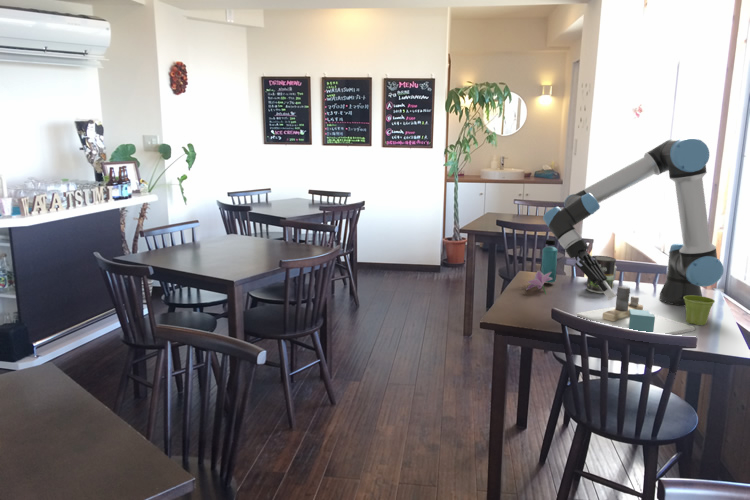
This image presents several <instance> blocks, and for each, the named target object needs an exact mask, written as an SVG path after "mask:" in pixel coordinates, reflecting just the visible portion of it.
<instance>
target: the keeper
mask: <svg viewBox="0 0 750 500" xmlns="http://www.w3.org/2000/svg"><path fill="white" fill-rule="evenodd" d="M650 313H651V312H650V311H649V310H645V309H643V310H636V309H629V314H630V320H629V329H633V330H638V331H646V332H653V330H654V322H655V316H654V314H655V313H652V314H650Z"/></svg>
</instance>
